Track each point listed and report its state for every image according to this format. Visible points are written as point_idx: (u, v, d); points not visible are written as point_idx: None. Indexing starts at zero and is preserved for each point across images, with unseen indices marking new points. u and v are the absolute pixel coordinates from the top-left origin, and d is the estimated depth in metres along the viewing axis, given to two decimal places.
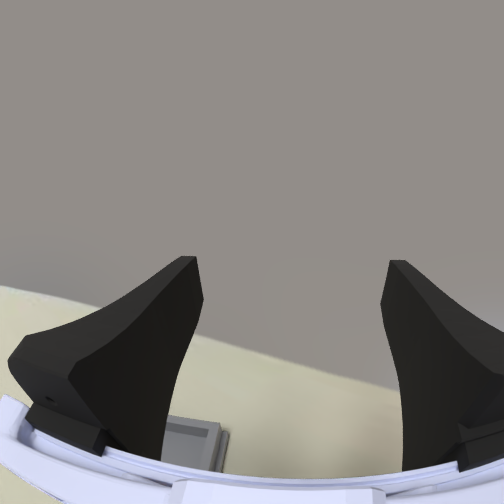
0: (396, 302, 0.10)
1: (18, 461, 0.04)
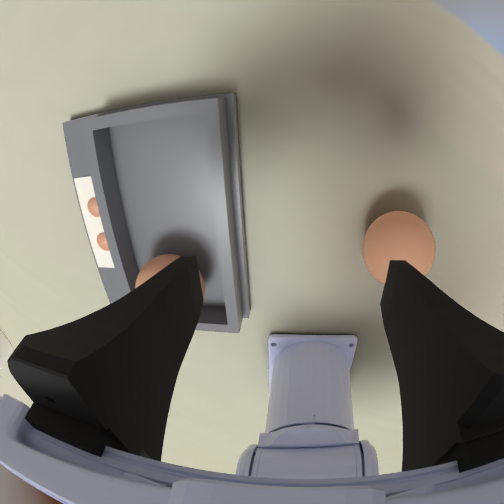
0: (396, 302, 0.10)
1: (18, 461, 0.04)
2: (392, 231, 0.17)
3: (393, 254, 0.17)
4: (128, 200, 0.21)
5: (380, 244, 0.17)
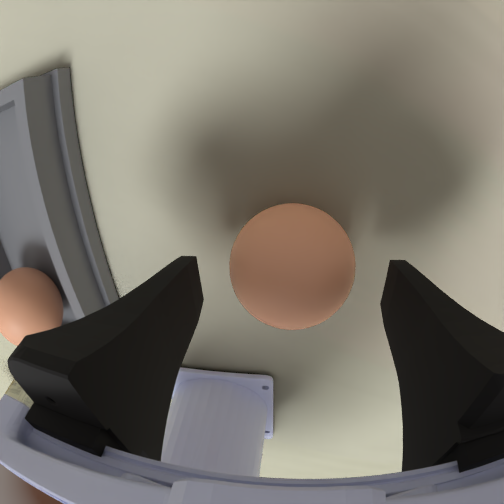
0: (396, 302, 0.09)
1: (18, 461, 0.04)
2: (259, 238, 0.11)
3: (258, 278, 0.10)
4: None
5: (240, 260, 0.11)
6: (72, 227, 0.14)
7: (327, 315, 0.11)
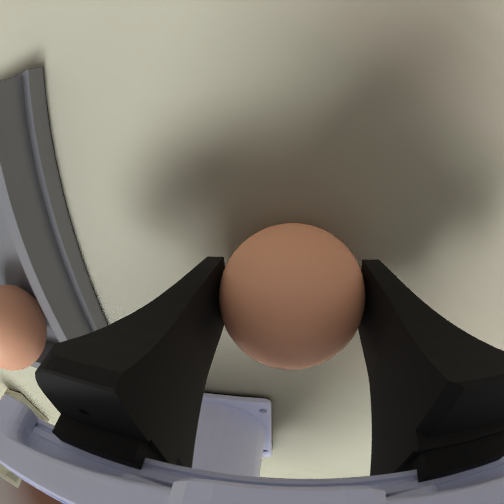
0: (367, 302, 0.10)
1: (18, 461, 0.04)
2: (252, 270, 0.09)
3: (250, 317, 0.09)
4: None
5: (230, 294, 0.09)
6: (49, 245, 0.12)
7: (332, 356, 0.09)
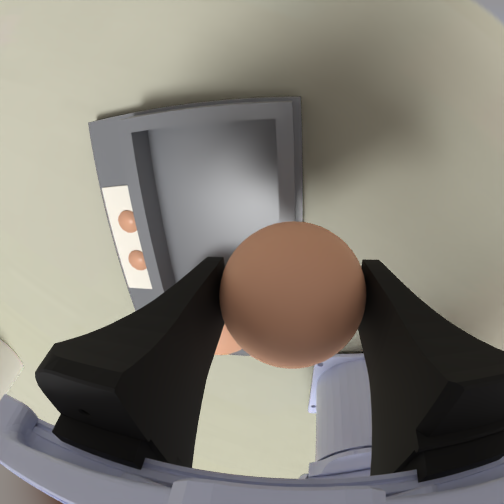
0: (367, 302, 0.10)
1: (18, 461, 0.04)
2: (252, 268, 0.09)
3: (251, 316, 0.09)
4: (170, 214, 0.19)
5: (230, 293, 0.09)
6: None
7: (332, 354, 0.09)
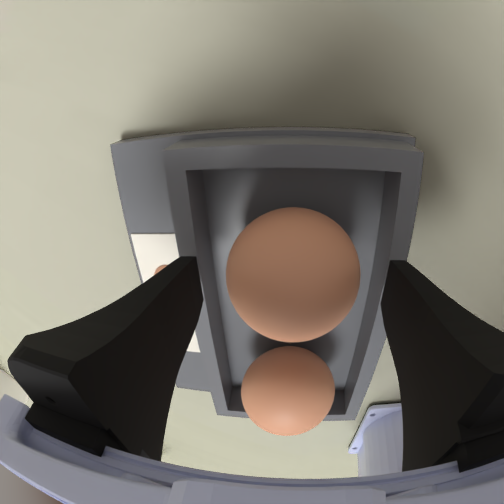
0: (396, 302, 0.09)
1: (18, 461, 0.04)
2: (257, 246, 0.10)
3: (256, 289, 0.10)
4: None
5: (237, 270, 0.10)
6: None
7: (330, 327, 0.10)
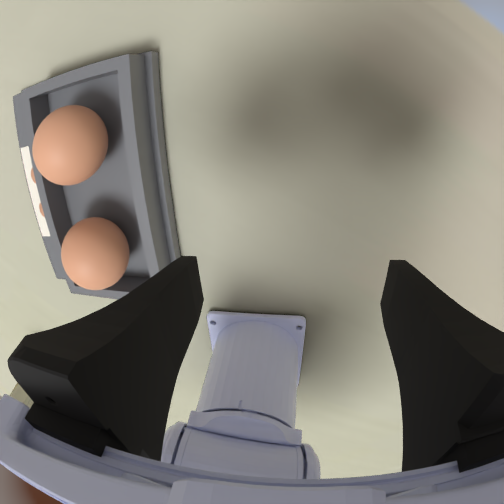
0: (396, 302, 0.10)
1: (18, 461, 0.04)
2: None
3: (34, 142, 0.14)
4: None
5: None
6: (153, 179, 0.18)
7: (68, 164, 0.14)
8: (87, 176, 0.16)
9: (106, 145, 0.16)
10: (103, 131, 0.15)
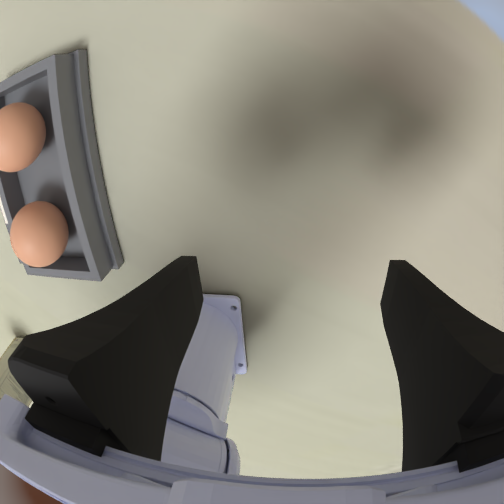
0: (396, 302, 0.10)
1: (18, 461, 0.04)
2: None
3: None
4: None
5: None
6: (82, 163, 0.18)
7: (7, 152, 0.14)
8: (26, 162, 0.16)
9: (42, 135, 0.16)
10: (38, 122, 0.15)
